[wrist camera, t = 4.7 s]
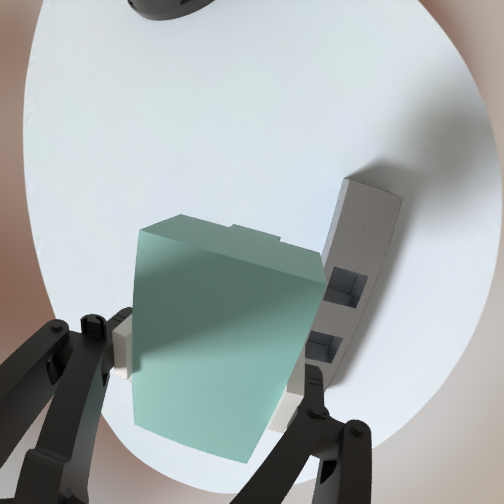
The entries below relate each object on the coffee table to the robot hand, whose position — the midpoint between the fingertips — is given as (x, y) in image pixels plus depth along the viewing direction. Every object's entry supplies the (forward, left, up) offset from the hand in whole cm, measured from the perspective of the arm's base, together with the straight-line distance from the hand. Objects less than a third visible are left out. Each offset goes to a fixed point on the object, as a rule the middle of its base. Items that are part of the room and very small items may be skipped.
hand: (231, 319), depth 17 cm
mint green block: (0, 0, -2) cm, 2 cm away
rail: (+5, +10, -17) cm, 21 cm away
